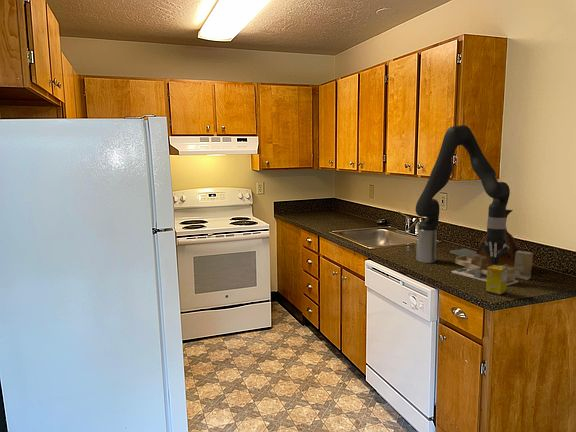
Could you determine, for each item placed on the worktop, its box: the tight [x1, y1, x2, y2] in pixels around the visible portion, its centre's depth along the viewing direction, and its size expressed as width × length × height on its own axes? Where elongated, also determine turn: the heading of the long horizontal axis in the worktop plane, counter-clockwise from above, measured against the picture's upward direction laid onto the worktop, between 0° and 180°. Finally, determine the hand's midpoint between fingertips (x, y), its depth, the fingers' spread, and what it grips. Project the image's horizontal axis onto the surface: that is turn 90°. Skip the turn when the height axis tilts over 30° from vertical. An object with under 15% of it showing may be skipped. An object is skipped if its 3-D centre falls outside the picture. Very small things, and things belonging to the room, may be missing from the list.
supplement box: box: [485, 265, 508, 297], centre depth 178 cm, size 6×6×11 cm
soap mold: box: [449, 248, 477, 259], centre depth 241 cm, size 10×20×4 cm, turn 14°
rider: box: [471, 254, 487, 268], centre depth 202 cm, size 5×4×5 cm
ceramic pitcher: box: [476, 209, 521, 267], centre depth 215 cm, size 20×20×30 cm
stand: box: [450, 267, 519, 286], centre depth 200 cm, size 27×10×4 cm, turn 33°
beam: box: [454, 255, 516, 282], centre depth 200 cm, size 26×7×6 cm, turn 33°
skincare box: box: [514, 250, 534, 281], centre depth 198 cm, size 6×4×12 cm
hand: (494, 264), depth 195 cm, fingers closed
